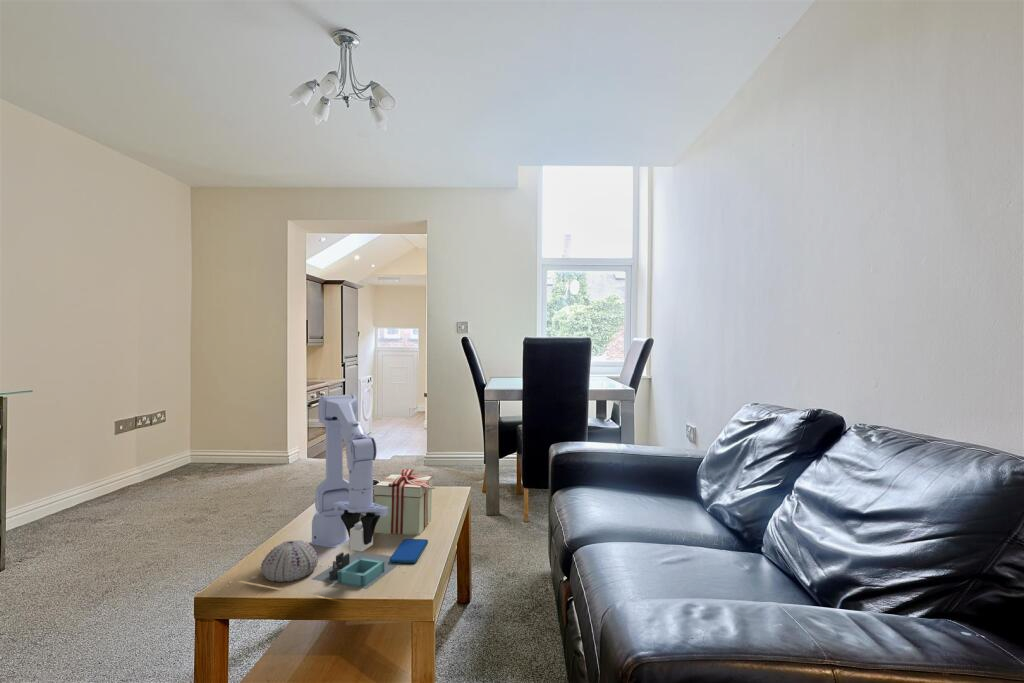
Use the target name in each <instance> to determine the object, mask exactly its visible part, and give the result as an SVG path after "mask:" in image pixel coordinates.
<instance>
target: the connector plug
mask: <svg viewBox="0 0 1024 683" xmlns="http://www.w3.org/2000/svg"><path fill="white" fill-rule="evenodd" d="M373 545H374V535H373V536H372V541H371V542H370V543H369V544H367V545H365V544H364V533H363V526H362V522H361V520H359V522H358V523H356V524H355V527H353V528H351V529H350V540H349V550H351V551H355V552H356V551H360V552H364V551H365V550H366V549H368V548H370V547H371V546H373Z"/></svg>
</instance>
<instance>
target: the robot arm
mask: <svg viewBox="0 0 1024 683" xmlns="http://www.w3.org/2000/svg"><path fill="white" fill-rule="evenodd" d="M317 408H318V412H317V414H318V423H321V424H323V425H324V428H325V479H323V480H322V481H321V482H320V483H318V484H317V486H316V488H315V495H314V506H315V511H316V513H314V515H313V516H312V520H311V541H310V542H309V544H310V545H315V546H321V547H327V548H333V549H335V548H339V547H341V546H342V545H344V544H346V543H347V542H350V529H351V528H353V527H355V524H356V523H358V522H360V521H361V522H362V526H363V533H364V544H365V545H367V544H369V543H370V542H371V541H372V536H373V537H374V533H375V526H376V524H377V522H378V520H379V518H380V516H381V517H384V516H386V515H388V507H386V506H382V505H379V504H375V502H374V499H373V498H374V476H373V475H374V465H373V464H374V461H375V460H376V458H377V454H378V453H377V443H376V440H375V438H374V437H373V436H371V435H368V434H367V432H366V430H365V428H364V427H365V426H363V424H362V423H361V422H360V421H358V420H357V418H356V413H357V411H358V400H357V397H356V396H355V394H352V393H350V394H341V395H340V394H339V395H337V394H336V395H321V396H320V397H319V399H318V404H317ZM343 442H344V444H345V457H346V463H347V466H346V467H347V469H348V480H347V479H345V478H344V472H343V471H344V470H343V460H344V459H343ZM361 514H365V515H363V516H361ZM347 534H348V535H347Z"/></svg>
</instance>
